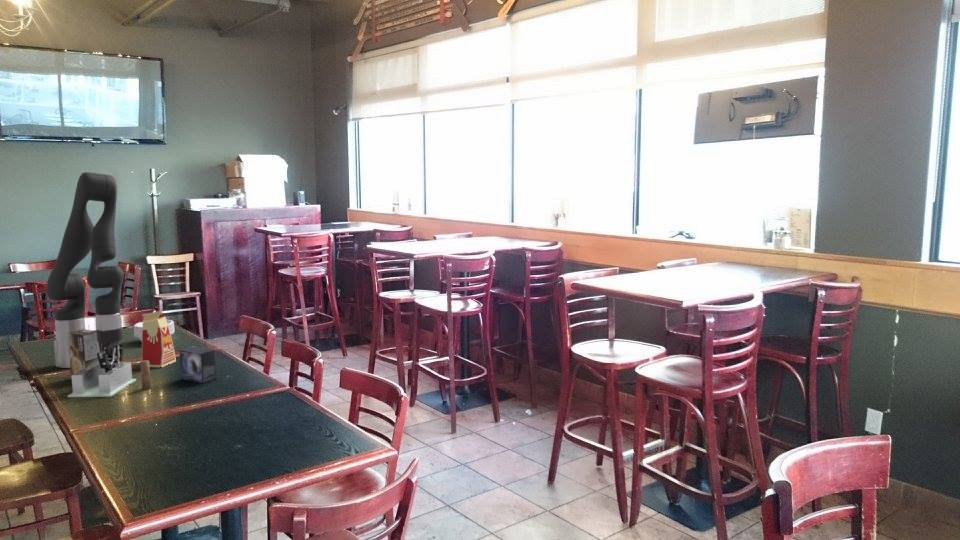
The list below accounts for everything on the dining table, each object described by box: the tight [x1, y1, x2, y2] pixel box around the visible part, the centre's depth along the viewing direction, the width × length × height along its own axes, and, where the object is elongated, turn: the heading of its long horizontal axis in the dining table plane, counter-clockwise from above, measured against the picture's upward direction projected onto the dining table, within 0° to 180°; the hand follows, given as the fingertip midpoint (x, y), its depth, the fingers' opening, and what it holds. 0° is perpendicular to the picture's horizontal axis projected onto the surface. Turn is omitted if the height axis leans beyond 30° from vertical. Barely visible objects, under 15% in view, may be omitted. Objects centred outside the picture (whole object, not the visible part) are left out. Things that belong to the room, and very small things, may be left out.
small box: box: [178, 345, 218, 384], centre depth 235 cm, size 11×6×10 cm, turn 62°
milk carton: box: [141, 309, 177, 368], centre depth 254 cm, size 9×9×20 cm
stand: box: [139, 360, 152, 391], centre depth 225 cm, size 3×3×9 cm
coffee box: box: [67, 328, 102, 380], centre depth 236 cm, size 9×6×16 cm
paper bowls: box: [133, 319, 175, 343], centre depth 291 cm, size 15×15×8 cm
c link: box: [71, 361, 133, 394], centre depth 225 cm, size 15×11×6 cm
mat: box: [67, 378, 137, 398], centre depth 226 cm, size 13×18×1 cm
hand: (112, 377), depth 232 cm, fingers open, 3 cm apart
